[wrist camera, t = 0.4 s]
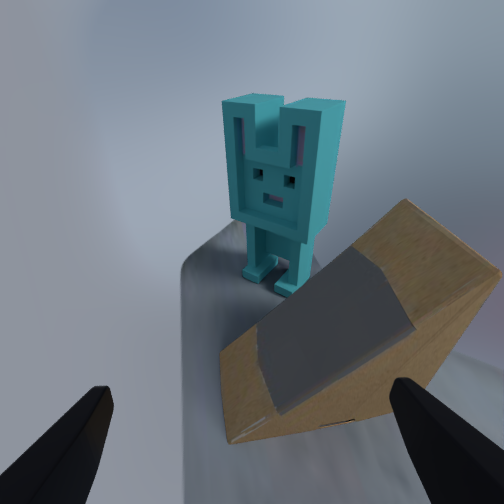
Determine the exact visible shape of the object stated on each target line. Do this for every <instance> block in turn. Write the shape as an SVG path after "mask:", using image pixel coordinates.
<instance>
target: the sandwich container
mask: <svg viewBox="0 0 504 504" xmlns="http://www.w3.org/2000/svg"><path fill="white" fill-rule="evenodd" d="M501 278H502V272H501V271H500V270H499V269H497V268H496V267H495V266H494V265H493V264H491V263H490V262H489V261H487V260H486V259H485V258H484V257H482V256H481V255H480V254H479V253H477V252H476V251H475V250H473V249H472V248H471V247H469V246H468V245H467V244H466V243H464V242H463V241H462V240H460V239H459V238H458V237H457V236H455V235H454V234H453V233H451V232H450V231H449V230H448V229H446V228H445V227H444V226H442V225H441V224H440V223H438V222H437V221H436V220H434V219H433V218H432V217H431V216H429V215H428V214H427V213H425V212H424V211H423V210H421V209H420V208H419V207H417V206H416V205H415V204H413V203H412V202H411V201H410V200H408V199H403V200H401V201H400V202H399V203H398V204H397V205H396V206H394V207H393V208H392V209H391V210H390V211H389V212H388V213H387V214H386V215H384V216H383V217H382V218H381V219H380V220H379V221H378V222H377V223H376V224H374V225H373V226H372V227H371V228H370V229H369V230H367V231H366V232H365V233H364V234H363V235H362V236H361V237H360V238H358V239H357V240H356V241H355V242H354V243H353V244H352V245H351V246H349V247H348V248H347V249H346V250H345V251H343V252H342V253H341V254H340V255H339V256H337V257H336V258H335V259H334V260H333V261H332V262H330V263H329V264H328V265H327V266H326V267H324V268H323V269H322V270H321V271H319V272H318V273H317V274H316V275H314V276H313V277H312V278H311V279H310V280H308V281H307V282H306V283H305V284H303V285H302V286H301V287H300V288H299V289H297V290H296V291H295V292H294V293H293V294H291V295H290V296H289V297H288V298H287V299H285V300H284V301H283V302H282V303H281V304H279V305H278V306H277V307H276V308H274V309H273V310H272V311H271V312H270V313H268V314H267V315H266V316H265V317H264V318H262V319H261V320H260V321H259V322H258V323H256V324H255V325H254V326H253V327H251V328H250V329H249V330H247V331H246V332H245V333H244V334H242V335H241V336H240V337H239V338H237V339H236V340H235V341H233V342H232V343H231V344H230V345H228V346H227V347H226V348H225V349H223V350H222V351H221V352H220V375H221V394H222V402H223V410H224V419H225V427H226V435H227V441H228V444H230V445H231V444H237V443H243V442H248V441H254V440H260V439H266V438H272V437H277V436H283V435H289V434H295V433H301V432H306V431H312V430H316V429H319V428H326V427H331V426H336V425H341V424H346V423H351V422H355V421H361V420H365V419H369V418H372V417H376V416H380V415H384V414H388V413H392V412H393V409H392V407H391V404H390V400H389V393H390V390H391V388H392V385H393V382H394V380H395V379H396V378H397V377H408V378H410V379H412V380H413V381H415V382H416V383H417V384H419V385H420V386H421V387H422V388H424V389H425V388H426V386H427V385H428V384H429V382H430V381H431V379H432V378H433V376H434V375H435V374H436V372H437V371H438V369H439V368H440V366H441V365H442V363H443V362H444V360H445V359H446V358H447V356H448V355H449V353H450V352H451V350H452V349H453V347H454V346H455V345H456V343H457V342H458V340H459V339H460V337H461V336H462V334H463V333H464V331H465V330H466V328H467V327H468V326H469V324H470V323H471V321H472V320H473V318H474V317H475V316H476V314H477V313H478V311H479V310H480V308H481V307H482V305H483V304H484V302H485V301H486V300H487V298H488V297H489V295H490V294H491V292H492V291H493V289H494V288H495V287H496V285H497V284H498V282H499V281H500V279H501ZM351 419H355V420H351ZM347 420H351V421H348V422H344V423H340V424H335V425H330V426H324V427H319V426H320V425H327V424H332V423H337V422H342V421H347Z"/></svg>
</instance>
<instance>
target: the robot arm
mask: <svg viewBox="0 0 504 504" xmlns="http://www.w3.org/2000/svg"><path fill="white" fill-rule="evenodd" d="M389 400H390V404H391V407H392V409H393V412H394V415H395V418H396V421H397V423H398V426H399V429H400V432H401V435H402V438H403V440H404V443H405V446H406V448H407V451H408V454H409V456H410V458H411V460H412V463H413V465H414V467H415V469H416V471H417V474H418V476H419V478H420V480H421V482H422V484H423V487H424V489H425V491H426V493H427V495H428V497H429V500H430V502H431V504H504V450H503V449H501V448H500V447H499V446H498V445H496V444H495V443H494V442H492V441H491V440H490V439H488V438H487V437H486V436H485V435H483V434H482V433H481V432H479V431H478V430H477V429H476V428H474V427H473V426H472V425H470V424H469V423H468V422H466V421H465V420H464V419H463V418H461V417H460V416H459V415H457V414H456V413H455V412H454V411H452V410H451V409H450V408H448V407H447V406H446V405H444V404H443V403H442V402H441V401H439V400H438V399H437V398H435V397H434V396H433V395H431V394H430V393H429V392H428V391H426V390H425V389H424V388H422V387H421V386H420V385H419V384H417V383H416V382H415V381H413V380H412V379H410V378H408V377H397V378H396V379H395V380H394V382H393V385H392V388H391V390H390V393H389ZM113 408H114V403H113V399H112V395H111V391H110V388H109V387H108V386H95V387H93V388H91V389H90V390H89V391H88V392H87V393H86V394H85V395H84V396H83V397H82V398H81V399H80V400H79V401H78V402H77V403H76V404H75V405H73V406H72V407H71V408H70V409H69V410H68V411H67V412H66V413H65V414H64V415H63V416H62V417H61V418H60V419H59V420H58V421H57V422H56V423H55V424H53V425H52V427H50V428H49V429H48V430H47V431H46V432H45V433H44V434H43V435H42V436H41V437H40V438H39V439H38V440H37V441H36V442H35V443H34V444H33V445H32V446H30V447H29V448H28V449H27V450H26V451H25V452H24V453H23V454H22V455H21V456H20V457H19V458H18V459H17V460H16V461H15V462H14V463H13V464H12V465H11V466H9V467H8V468H7V469H6V470H5V471H4V472H3V473H2V474H1V475H0V504H85V503H86V500H87V497H88V495H89V492H90V489H91V487H92V484H93V481H94V479H95V475H96V473H97V470H98V466H99V463H100V459H101V455H102V452H103V448H104V444H105V440H106V437H107V433H108V429H109V425H110V421H111V418H112V414H113Z"/></svg>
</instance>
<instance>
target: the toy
mask: <svg viewBox="0 0 504 504" xmlns="http://www.w3.org/2000/svg"><path fill="white" fill-rule="evenodd" d="M345 103H346V101H342V100H330V99H317V98H305V99H302V100H299V101H296V102H293V103H290V104H287V105H284V96H279V95H266V94H254V93H252V94H248V95H244V96H240V97H236V98H232V99H228V100H224V101H222V110H223V121H224V122H223V123H224V135H225V148H226V159H227V173H228V185H229V198H230V211H231V218H232V219H235V220H238V221H241V222H244V223H246V234H247V257H248V265H247V266H246V267H245V268H244V269H243V270H242V273H243V277H244V278H246V279H248V280H251V281H253V282H255V283H257V284H258V283H259V282H260V281H261V280H262V279H263V278H264V277H265V276H266V275H267V274H268V273H269V272H270V271H271V270H272V269H273V268H274V267H275V266H276V265H277V264H278V257H277V256H279V257H281V258H284V259H286V260H289V261H290V262H289V269H288V270H287V271H286V272H285V273H284V274H283V275H282V277H281V278H280V279H279V280H278V281H277V282H276V283H275V284H274V292H276V293H279V294H281V295H283V296H285V297H287V298H288V297H289V296H290V295H291V294H293V293H294V292H295V291H296V290H297V289H299V288H300V287H301V286H302V285H303V284H304V283H305V282H306V281H307V280H308V278H309V277H310V270H311V263H312V255H313V246H314V239H315V236H316V235H317V234H318V233H319V232H320V230H321V229H322V228H323V227H324V226H325V225H326V224H327V220H328V214H329V207H330V201H331V194H332V188H333V181H334V174H335V168H336V162H337V155H338V149H339V142H340V136H341V129H342V123H343V116H344V110H345ZM270 253H271V254H270ZM272 254H274V255H276V256H274V255H272Z"/></svg>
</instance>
